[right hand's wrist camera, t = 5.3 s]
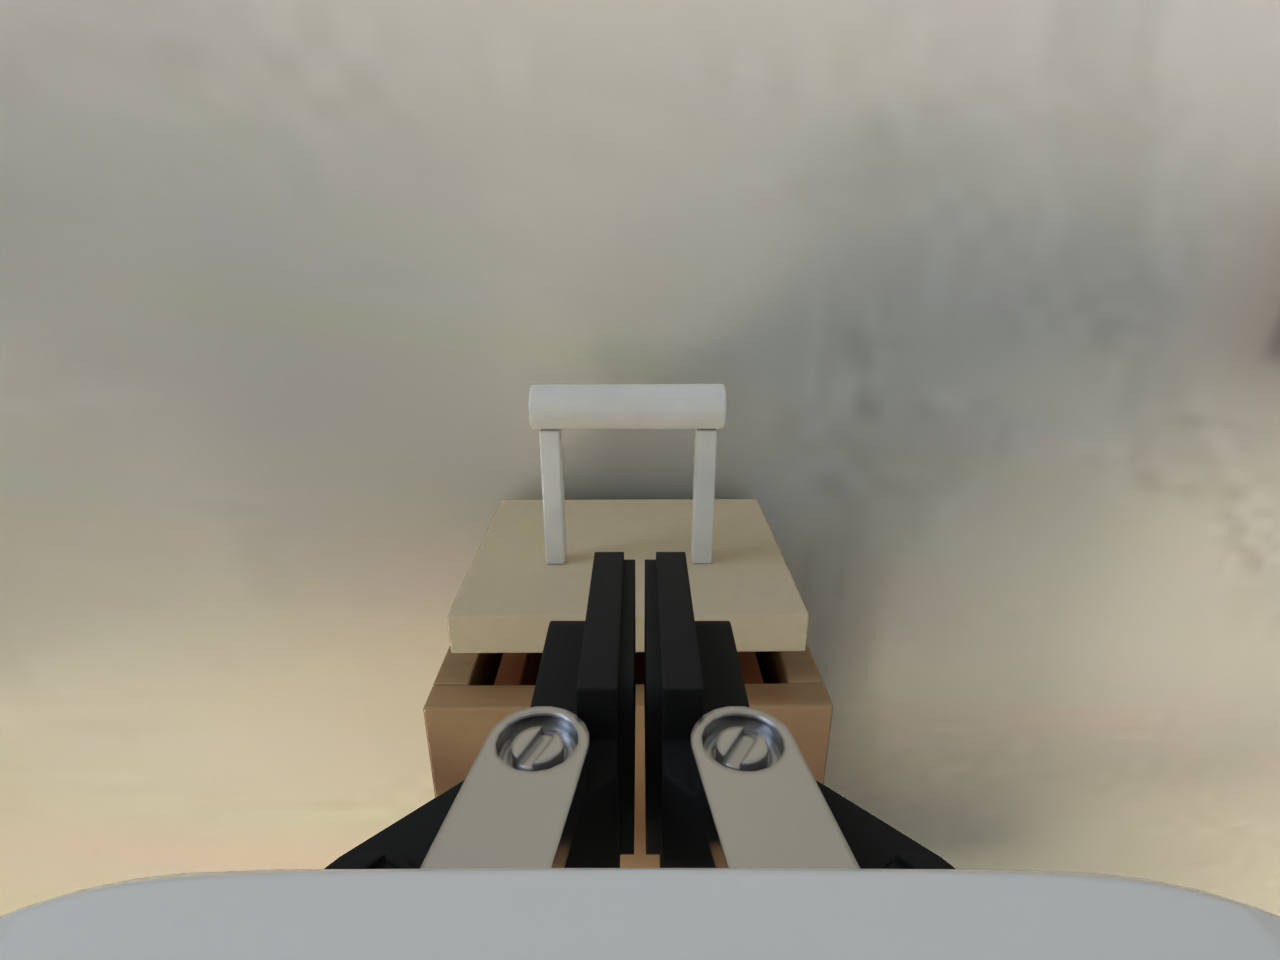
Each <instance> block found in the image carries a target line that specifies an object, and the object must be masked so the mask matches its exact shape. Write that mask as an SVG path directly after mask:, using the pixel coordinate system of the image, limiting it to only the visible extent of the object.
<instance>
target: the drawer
mask: <svg viewBox="0 0 1280 960" xmlns="http://www.w3.org/2000/svg"><path fill="white" fill-rule="evenodd" d="M726 417H727V394H726V388H725V385H723V384H533V385H532V386H531V388H530V392H529V418H530V424H531V427H532V428H533V429H541V430H540V432H539V441H540V460H541V479H542V497H543V500H502V501H501V503H500V505H499V507H498V509H497V511H496V514H495V516H494V518H493V520H492V522H491V524H490V526H489V528H488V531H487V533H486V535H485V537H484V539H483V541H482V543H481V545H480V548H479V550H478V552H477V554H476V556H475V558H474V560H473V562H472V565H471V567H470V569H469V571H468V573H467V575H466V577H465V580H464V582H463V584H462V586H461V588H460V590H459V592H458V594H457V597H456V599H455V601H454V603H453V605H452V607H451V609H450V611H449V614H448V616H447V621H448V629H449V638H450V647H451V652H452V653H503V655H502V659H501V662H500V665H499V669H498V672H497V675H496V679H495V682H494V685H535V684H536V680H537V675H538V671H539V666H540V662H541V658H542V653H543V649H544V644H545V640H546V635H547V631H548V626H549V623H550V621H585V619H586V612H587V604H588V597H589V590H590V582H591V575H592V568H593V560H594V553H595V552H624V559H635V619H636V684H644V619H645V559H656V552H685V553H686V560H687V568H688V575H689V582H690V590H691V597H692V604H693V612H694V619H695V621H730V623H731V626H732V631H733V635H734V640H735V644H736V649H737V653H738V658H739V662H740V666H741V671H742V675H743V680H744V684H764V681H763V678H762V674H761V671H760V667H759V664H758V660H757V657H756V653H755V652H758V651H805V649H806V640H807V630H808V621H809V614H808V611H807V609H806V607H805V605H804V602H803V600H802V598H801V596H800V594H799V591H798V589H797V587H796V585H795V582H794V580H793V578H792V576H791V574H790V571H789V569H788V567H787V565H786V562H785V560H784V558H783V556H782V554H781V551H780V549H779V547H778V545H777V542H776V540H775V538H774V536H773V534H772V531H771V529H770V527H769V525H768V522H767V520H766V518H765V516H764V514H763V511H762V509H761V507H760V505H759V502H758V500H757V499H715V476H716V452H717V430H716V429H722V428H724V426H725V423H726ZM562 429H695V443H694V476H693V499H639V500H565V499H564V475H563V451H562Z"/></svg>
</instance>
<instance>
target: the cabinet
mask: <svg viewBox="0 0 1280 960" xmlns="http://www.w3.org/2000/svg"><path fill="white" fill-rule="evenodd" d="M755 653H756V657H757V660H758V664H759V667H760V671H761V674H762V678H763V681H764V684H745V689H746V693H747V698H748V702H749V707H750V708H754V709H759V710H761V711H763V712H766V713H768V714H770V715H772V716H774V717H775V718H777V719H778V720H779V721H781V722H782V723H783V724H785V726H786V727H787V728H788V730H789V731H790V732H791V734H792V735H793V737H794V739H795V741H796V743H797V745H798V747H799V749H800V751H801V753H802V755H803V757H804V759H805V761H806V763H807V765H808V767H809V769H810V771H811V773H812V775H813V777H814V778H815V780H816V781H818V782H820V783H821V784H823V785H824V777H825V768H826V760H827V752H828V744H829V736H830V728H831V719H832V711H833V705H832V702H831V700H830V698H829V695H828V693H827V690H826V688H825V685H824V684H823V681H822V678H821V676H820V673H819V671H818V669H817V666H816V664H815V661H814V659H813V657H812V654H811V652H810V649H809V647H808V644H807V642H806V649H805V651H758V652H755ZM502 655H503V653H452V652H451V647H449V649H448V652H447V654H446V656H445V659H444V661H443V663H442V666H441V668H440V670H439V673H438V675H437V677H436V680H435V682H434V684H433V687H432V690H431V692H430V694H429V697H428V699H427V701H426V704H425V706H424V708H423V711H424V718H425V725H426V733H427V740H428V747H429V755H430V762H431V769H432V777H433V784H434V791H435V798H436V797H438V796H439V795H441V794H443V793H444V792H446V791H447V790H449V789H451V788H452V787H454V786H455V785H457V784H459V783H460V782H462V781H464V780H465V778H466V777H467V775H468V773H469V771H470V769H471V767H472V765H473V763H474V761H475V759H476V757H477V755H478V753H479V751H480V749H481V747H482V745H483V743H484V741H485V739H486V737H487V735H488V734H489V732H490V731H491V730H492V728H493V727H494V726H495V724H497V723H498V722H499V721H501V720H502V719H503V718H505V717H506V716H508V715H510V714H512V713H514V712H517V711H519V710H521V709H526V708H530V707H531V702H532V698H533V693H534V689H535V685H494V682H495V679H496V675H497V672H498V669H499V665H500V662H501V659H502ZM620 868H660V855H646V823H645V713H644V684H636V713H635V823H634V855H620Z"/></svg>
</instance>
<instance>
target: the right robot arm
mask: <svg viewBox="0 0 1280 960" xmlns="http://www.w3.org/2000/svg"><path fill="white" fill-rule="evenodd" d="M635 713H636V619H635V559H624V552H595V553H594V560H593V568H592V575H591V582H590V590H589V597H588V604H587V612H586V619H585V621H550V623H549V626H548V631H547V635H546V640H545V644H544V649H543V653H542V658H541V662H540V666H539V671H538V675H537V680H536V684H535V689H534V693H533V698H532V702H531V707H530V708H526V709H521V710H519V711H517V712H514V713H512V714H510V715H508V716H506V717H505V718H503V719H502V720H501V721H499V722H498V723H497V724H495V726H494V727H493V728H492V730H491V731H490V732H489V734H488V735H487V737H486V739H485V741H484V743H483V745H482V747H481V749H480V751H479V753H478V755H477V757H476V759H475V761H474V763H473V765H472V767H471V769H470V771H469V773H468V775H467V777H466V778H465V780H464V781H462V782H460V783H459V784H457V785H455V786H454V787H452V788H451V789H449V790H447V791H446V792H444V793H443V794H441V795H439V796H438V797H436V798H434V799H433V800H431V801H430V802H428V803H426V804H425V805H423V806H422V807H420V808H418V809H417V810H415V811H413V812H412V813H410V814H409V815H407V816H405V817H404V818H402V819H401V820H399V821H397V822H396V823H394V824H392V825H391V826H389V827H388V828H386V829H384V830H383V831H381V832H379V833H378V834H376V835H375V836H373V837H371V838H370V839H368V840H367V841H365V842H363V843H362V844H360V845H358V846H357V847H355V848H354V849H352V850H350V851H349V852H347V853H346V854H344V855H342V856H341V857H339V858H338V859H337V860H335V861H334V862H333V863H331V864H330V865H329V866H327V867H326V868H325V869H279V870H254V871H228V872H203V873H182V874H173V875H164V876H156V877H147V878H138V879H132V880H127V881H122V882H117V883H112V884H107V885H102V886H97V887H92V888H88V889H83V890H79V891H76V892H73V893H69V894H66V895H63V896H59V897H56V898H53V899H50V900H46V901H43V902H40V903H37V904H33V905H30V906H27V907H24V908H21V909H19V910H16V911H14V912H11V913H8V914H6V915H3V916H1V917H0V960H1280V917H1279V916H1277V915H1274V914H1272V913H1269V912H1266V911H1264V910H1261V909H1259V908H1256V907H1253V906H1250V905H1247V904H1243V903H1240V902H1237V901H1234V900H1230V899H1227V898H1224V897H1221V896H1217V895H1214V894H1211V893H1207V892H1204V891H1201V890H1197V889H1192V888H1188V887H1183V886H1178V885H1173V884H1168V883H1163V882H1158V881H1153V880H1148V879H1142V878H1133V877H1124V876H1116V875H1107V874H1098V873H1077V872H1051V871H1026V870H1001V869H999V870H991V869H955V868H954V867H953V866H951V865H950V864H949V863H947V862H946V861H945V860H943V859H942V858H941V857H939V856H938V855H936V854H934V853H933V852H931V851H930V850H928V849H926V848H925V847H923V846H922V845H920V844H918V843H917V842H915V841H913V840H912V839H910V838H909V837H907V836H905V835H904V834H902V833H901V832H899V831H897V830H896V829H894V828H892V827H891V826H889V825H888V824H886V823H884V822H883V821H881V820H879V819H878V818H876V817H875V816H873V815H871V814H870V813H868V812H867V811H865V810H863V809H862V808H860V807H858V806H857V805H855V804H854V803H852V802H850V801H849V800H847V799H846V798H844V797H842V796H841V795H839V794H837V793H836V792H834V791H833V790H831V789H829V788H828V787H826V786H825V785H823V784H821V783H820V782H818V781H816V780H815V778H814V777H813V775H812V773H811V771H810V769H809V767H808V765H807V763H806V761H805V759H804V757H803V755H802V753H801V751H800V749H799V747H798V745H797V743H796V741H795V739H794V737H793V735H792V734H791V732H790V731H789V730H788V728H787V727H786V726H785V724H783V723H782V722H781V721H779V720H778V719H777V718H775V717H774V716H772V715H770V714H768V713H766V712H763V711H761V710H759V709H754V708H750V707H749V702H748V698H747V693H746V689H745V684H744V680H743V675H742V671H741V666H740V662H739V658H738V653H737V649H736V644H735V640H734V635H733V631H732V626H731V623H730V621H695V619H694V612H693V604H692V597H691V590H690V582H689V575H688V568H687V560H686V553H685V552H656V559H645V619H644V713H645V823H646V855H660V868H620V855H634V823H635Z"/></svg>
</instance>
